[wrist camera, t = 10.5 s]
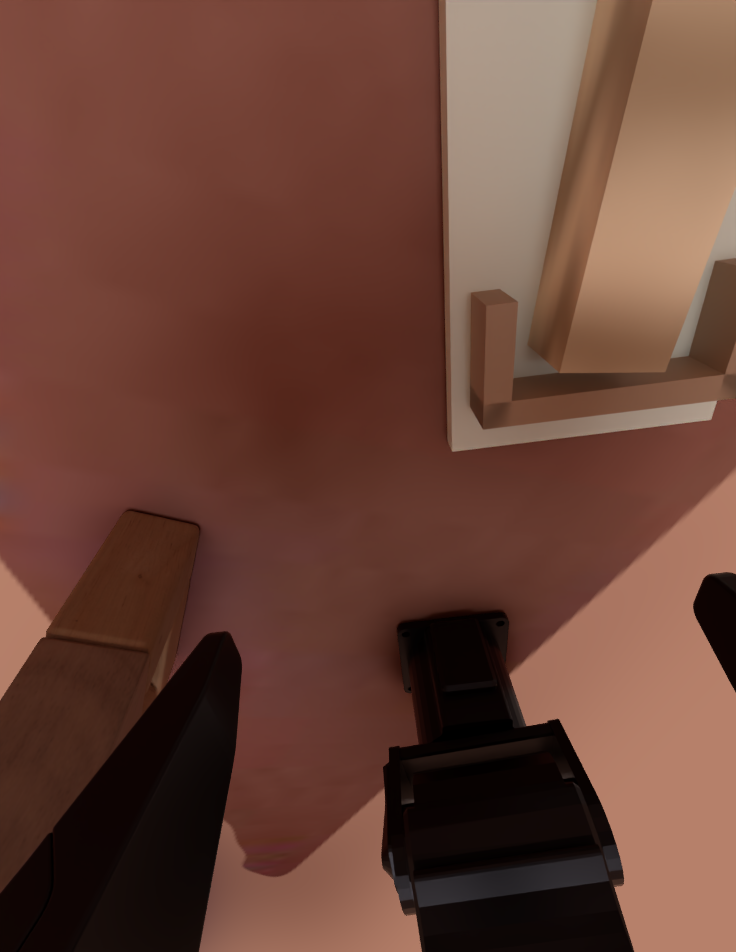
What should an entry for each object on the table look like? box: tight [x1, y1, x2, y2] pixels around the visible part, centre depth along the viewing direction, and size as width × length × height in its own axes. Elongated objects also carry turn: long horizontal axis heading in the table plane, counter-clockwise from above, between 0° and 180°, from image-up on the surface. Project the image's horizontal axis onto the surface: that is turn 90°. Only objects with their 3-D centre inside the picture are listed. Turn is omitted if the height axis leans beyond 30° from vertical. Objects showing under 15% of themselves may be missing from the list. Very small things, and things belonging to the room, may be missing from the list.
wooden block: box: [0, 511, 199, 892], centre depth 17 cm, size 4×11×18 cm, turn 161°
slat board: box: [439, 0, 736, 452], centre depth 13 cm, size 22×11×3 cm, turn 7°
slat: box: [527, 0, 736, 373], centre depth 12 cm, size 14×4×3 cm, turn 179°
